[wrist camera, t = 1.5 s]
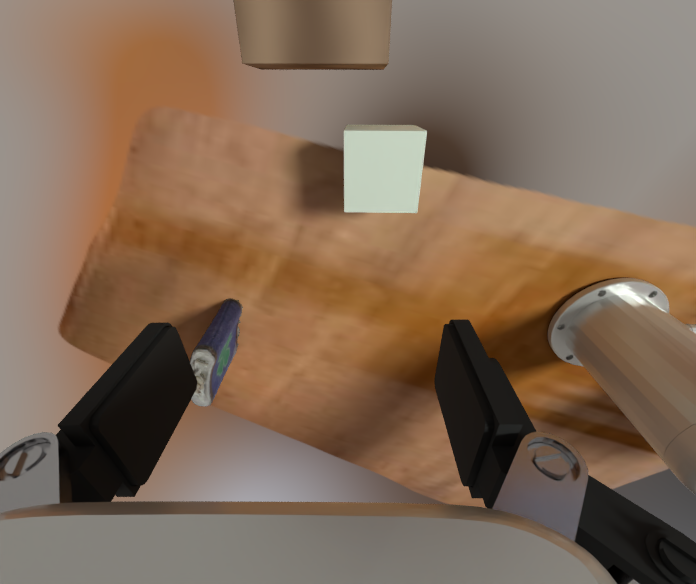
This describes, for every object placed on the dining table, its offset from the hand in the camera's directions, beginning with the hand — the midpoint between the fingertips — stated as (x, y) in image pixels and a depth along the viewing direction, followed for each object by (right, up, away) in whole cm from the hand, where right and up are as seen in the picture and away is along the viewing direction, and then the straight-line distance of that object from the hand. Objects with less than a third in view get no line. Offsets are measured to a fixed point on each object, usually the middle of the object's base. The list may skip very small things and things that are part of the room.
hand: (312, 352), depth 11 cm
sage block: (+4, +14, +18) cm, 24 cm away
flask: (-14, -2, +29) cm, 32 cm away
